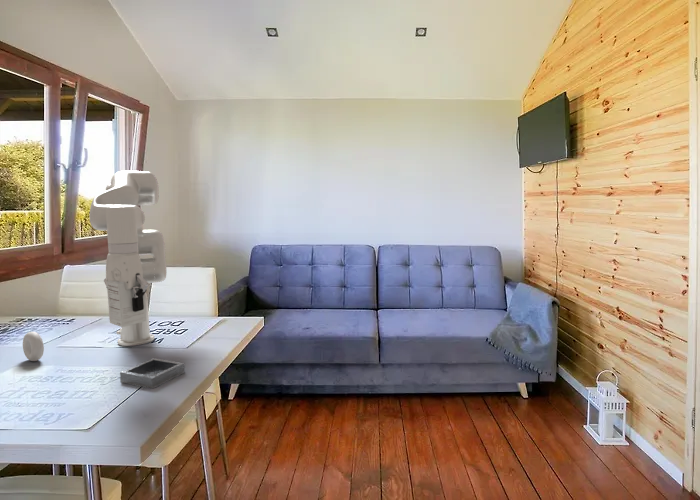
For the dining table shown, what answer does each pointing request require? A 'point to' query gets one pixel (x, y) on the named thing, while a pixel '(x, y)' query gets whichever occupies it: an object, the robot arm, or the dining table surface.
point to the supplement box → (123, 305)
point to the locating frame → (152, 373)
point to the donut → (33, 346)
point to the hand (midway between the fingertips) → (127, 308)
